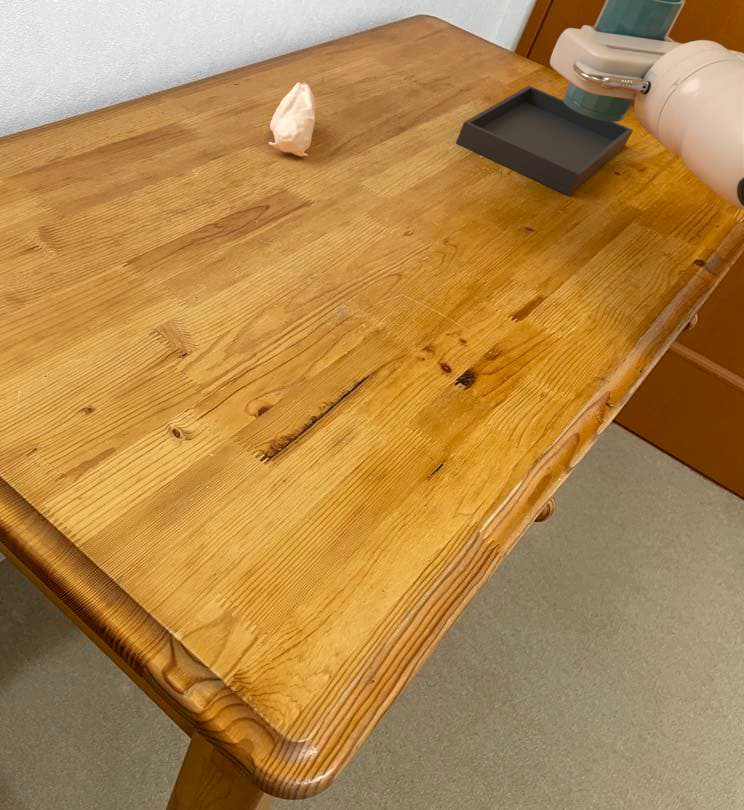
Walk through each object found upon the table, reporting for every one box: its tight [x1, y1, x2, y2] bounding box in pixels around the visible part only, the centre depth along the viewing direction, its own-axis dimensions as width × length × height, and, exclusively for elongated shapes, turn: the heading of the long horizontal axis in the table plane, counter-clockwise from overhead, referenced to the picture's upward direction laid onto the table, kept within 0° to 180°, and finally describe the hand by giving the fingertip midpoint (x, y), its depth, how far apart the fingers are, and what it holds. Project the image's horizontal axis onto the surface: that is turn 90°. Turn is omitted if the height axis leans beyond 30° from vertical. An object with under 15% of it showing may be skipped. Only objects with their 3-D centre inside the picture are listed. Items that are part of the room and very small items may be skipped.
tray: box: [455, 85, 634, 196], centre depth 109 cm, size 21×15×3 cm
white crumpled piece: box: [268, 81, 316, 157], centre depth 96 cm, size 5×7×10 cm
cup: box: [561, 0, 686, 123], centre depth 88 cm, size 7×7×12 cm
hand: (621, 38), depth 88 cm, fingers closed on cup, 7 cm apart
